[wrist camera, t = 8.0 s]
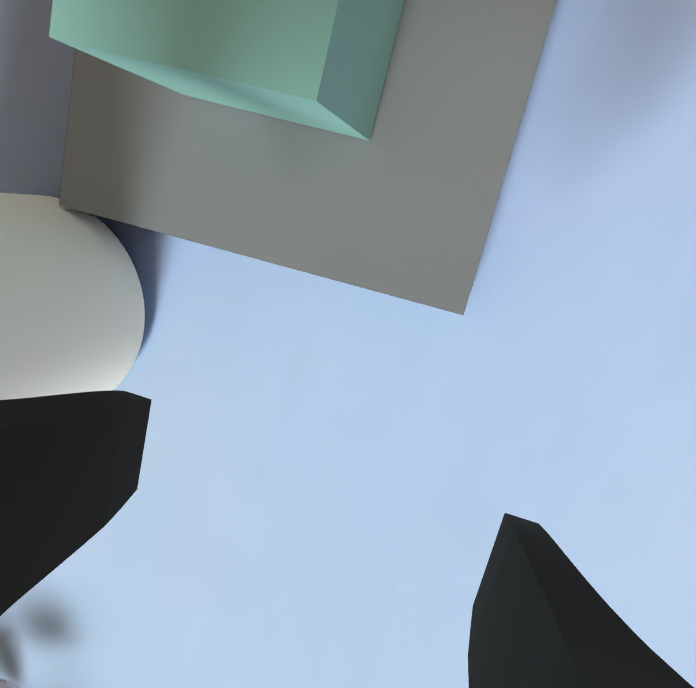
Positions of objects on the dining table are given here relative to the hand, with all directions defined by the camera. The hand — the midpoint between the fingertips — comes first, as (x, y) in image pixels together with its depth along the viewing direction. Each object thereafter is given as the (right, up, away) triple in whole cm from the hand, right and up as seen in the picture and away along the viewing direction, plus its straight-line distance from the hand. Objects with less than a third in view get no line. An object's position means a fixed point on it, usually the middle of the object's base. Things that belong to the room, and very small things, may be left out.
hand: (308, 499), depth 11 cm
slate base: (0, +13, +8) cm, 15 cm away
